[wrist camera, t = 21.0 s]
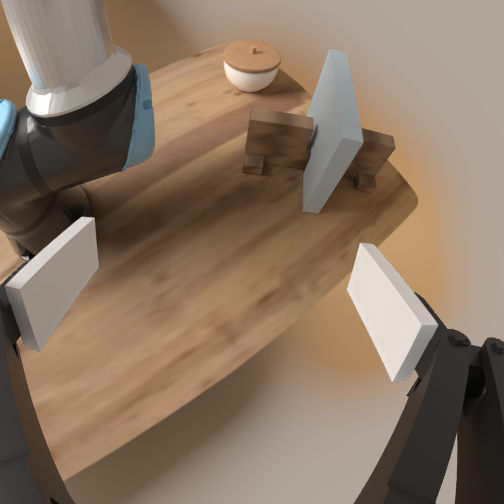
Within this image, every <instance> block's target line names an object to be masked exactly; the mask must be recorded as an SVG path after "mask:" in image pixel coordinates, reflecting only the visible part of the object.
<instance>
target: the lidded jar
mask: <svg viewBox="0 0 504 504" xmlns="http://www.w3.org/2000/svg"><path fill="white" fill-rule="evenodd" d="M223 57H224V70H225V74H226V76H227V78H228V80H229V81H230V82H231V83H232V84H233V85H234V86H235V87H236V88H238V89H239V90H241V91H245V92H256V91H259V90H261V89H263V88H265V87H267V86H268V85H269V84H270V83H271V82H272V81H273V80H274V78H275V76H276V74H277V72H278V69H279V65H280V62H281V54H280V52H279V51H278V50H277V49H276V48H275V47H273V46H272V45H270V44H268V43H265V42H262V41H257V40H241V41H237V42H234V43H231V44H230V45H228V46H227V47H226V48H225V50H224V55H223Z"/></svg>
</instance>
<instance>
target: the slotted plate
mask: <svg viewBox="0 0 504 504" xmlns="http://www.w3.org/2000/svg"><path fill="white" fill-rule="evenodd" d="M306 116H307V117H312V118H313V120H314V131H313V133H312V136H311V138H310V141H311V157H310V159H309V162H308V164H307V166H306V169H305V171H304V173H303V212H308V213H315V214H319V212H320V210H321V209H322V207H323V206H324V204H325V203H326V201H327V200H328V198H329V197H330V195H331V193H332V192H333V190H334V189H335V187H336V186H337V184H338V182H339V181H340V179H341V178H342V176H343V175H344V173H345V171H346V170H347V168H348V167H349V165H350V163H351V162H352V160H353V159H354V157H355V155H356V154H357V152H358V151H359V149H360V147H361V146H362V144H363V143H364V142H363V135H362V129H361V123H360V117H359V112H358V107H357V101H356V96H355V91H354V86H353V81H352V77H351V72H350V68H349V63H348V59H347V55H346V53H344V52H340V51H336V50H332V49H330V50H329V52H328V56H327V58H326V61H325V64H324V67H323V70H322V73H321V75H320V78H319V81H318V84H317V87H316V90H315V93H314V95H313V98H312V101H311V104H310V107H309V110H308V113H307V115H306Z"/></svg>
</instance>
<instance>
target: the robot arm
mask: <svg viewBox="0 0 504 504" xmlns="http://www.w3.org/2000/svg"><path fill="white" fill-rule="evenodd" d="M1 2H2V5H3V8H4V11H5V14H6V17H7V20H8V23H9V26H10V29H11V32H12V34H13V37H14V40H15V42H16V45H17V48H18V50H19V53H20V55H21V58H22V60H23V62H24V65H25V67H26V70H27V72H28V74H29V77H30V79H31V81H32V85H31V88H30V90H29V92H28V95H27V98H26V106H24V107H22V108H20V109H16V106H15V105H14V103H11V102H10V101H9V100H3V99H0V229H1V230H2V231H3V232H5V234H6V236H7V238H8V240H9V241H10V243H11V245H12V247H13V249H14V251H15V252H16V253H17V255H18V256H19V257H20V258H22V259H23V260H24V261H26V262H25V263H23V264H22V265H21V266H20V267H19V268H18V269H17V271H14V272H13V273H12V274H11V276H9V277H8V278H7V279H6V280H5V281H4V282H3V283H2V284H1V285H0V504H75V503H74V501H73V500H72V498H71V496H70V495H69V493H68V491H67V489H66V487H65V485H64V483H63V481H62V478H61V476H60V474H59V472H58V470H57V467H56V465H55V463H54V461H53V458H52V456H51V453H50V451H49V448H48V446H47V443H46V441H45V438H44V435H43V433H42V430H41V427H40V424H39V421H38V418H37V415H36V412H35V409H34V406H33V403H32V399H31V396H30V392H29V389H28V385H27V381H26V377H25V373H24V369H23V365H22V361H21V356H20V352H19V348H18V345H17V343H16V341H17V340H18V339H19V337H20V336H21V338H22V340H23V343H24V345H25V347H26V348H29V349H32V350H36V351H41V350H42V348H43V347H44V345H45V344H46V342H47V340H48V339H49V337H50V336H51V334H52V333H53V331H54V330H55V328H56V327H57V325H58V324H59V322H60V321H61V319H62V318H63V316H64V315H65V314H66V312H67V311H68V309H69V308H70V306H71V305H72V304H73V302H74V301H75V299H76V298H77V297H78V295H79V294H80V292H81V291H82V290H83V288H84V287H85V286H86V284H87V283H88V281H89V280H90V279H91V277H92V276H93V275H94V273H95V272H96V271H97V270H98V268H99V262H98V253H97V242H96V230H95V218H91V208H90V203H89V199H88V197H87V195H86V194H85V192H84V191H83V189H82V188H81V186H80V184H83V183H86V182H89V181H92V180H95V179H98V178H101V177H104V176H107V175H110V174H114V173H117V172H122V171H125V170H126V169H127V168H129V167H132V166H134V165H137V164H140V163H142V162H145V161H146V160H148V159H149V158H150V157H151V155H152V154H153V151H154V147H155V126H154V114H153V107H152V94H151V86H150V79H149V74H148V71H147V68H146V66H145V65H143V64H133V65H132V60H131V56H130V55H129V53H128V52H127V51H125V50H124V49H122V48H119V47H116V46H114V45H113V44H112V40H111V35H110V30H109V26H108V21H107V16H106V11H105V5H104V0H1ZM347 291H348V293H349V295H350V297H351V299H352V301H353V303H354V305H355V307H356V309H357V311H358V312H359V315H360V317H361V319H362V320H363V322H364V325H365V327H366V328H367V330H368V333H369V335H370V337H371V338H372V341H373V343H374V345H375V346H376V349H377V351H378V353H379V355H380V357H381V359H382V362H383V363H384V366H385V368H386V370H387V372H388V374H389V377H390V379H391V381H392V382H399V381H408V380H409V378H410V377H411V375H412V373H413V371H414V370H416V372H417V374H418V376H419V377H418V378H417V380H416V381H415V383H414V385H413V386H412V388H411V389H410V391H409V393H408V394H407V396H408V397H409V398H408V401H407V403H406V405H405V408H404V410H403V412H402V414H401V417H400V419H399V421H398V423H397V425H396V428H395V430H394V432H393V434H392V436H391V438H390V440H389V442H388V444H387V446H386V448H385V450H384V452H383V454H382V456H381V458H380V460H379V461H378V463H377V465H376V467H375V469H374V471H373V472H372V474H371V476H370V478H369V480H368V481H367V483H366V484H365V486H364V488H363V489H362V491H361V493H360V494H359V496H358V498H357V499H356V501H355V502H354V504H436V503H435V502H436V498H437V496H438V493H439V490H440V488H441V485H442V482H443V479H444V476H445V473H446V470H447V466H448V463H449V460H450V456H451V452H452V449H453V446H454V441H455V438H456V434H457V442H458V443H457V444H458V452H457V482H456V497H455V504H504V342H503V341H501V340H500V339H496V338H491V337H490V338H487V339H486V340H485V342H484V344H483V346H482V347H479V346H474V345H471V342H470V340H469V339H468V338H467V337H466V336H465V335H464V334H463V333H461V332H459V331H457V330H454V329H447V328H446V326H445V325H444V324H443V322H442V321H441V320H440V319H439V317H438V316H437V315H436V313H434V311H433V309H432V308H431V307H430V306H429V304H428V303H427V302H426V301H425V299H424V298H422V297H421V296H420V295H418V294H417V293H415V292H413V291H412V290H411V288H410V287H409V286H408V285H407V283H406V282H405V281H404V280H403V279H402V278H401V276H400V275H399V274H398V272H397V271H396V270H395V269H394V268H393V266H392V265H391V264H390V263H389V262H388V260H387V259H386V258H385V257H384V256H383V255H382V253H381V252H380V251H379V250H378V249H377V248H376V246H375V245H374V244H368V243H360V245H359V249H358V253H357V256H356V260H355V264H354V267H353V271H352V274H351V278H350V281H349V284H348V288H347Z"/></svg>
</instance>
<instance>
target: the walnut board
mask: <svg viewBox="0 0 504 504" xmlns="http://www.w3.org/2000/svg"><path fill="white" fill-rule="evenodd" d="M361 129H362V128H361ZM313 131H314V120H313V118H312V117H307V116H301V115H295V114H289V113H283V112H277V111H270V110H263V109H255V108H251V113H250V120H249V127H248V133H247V140H246V148H245V156H244V164H243V173H251V174H259V175H261V174H262V169H263V163H264V164H271V165H278V166H285V167H292V168H298V169H306V166H307V164H308V162H309V159H310V157H311V141H310V138H311V136H312V133H313ZM362 135H363V142H364V143H363V144H362V146H361V147H360V149H359V151H358V152H357V154H356V155H355V157H354V159H353V160H352V162H351V163H350V165H349V167H348V168H347V170H346V171H345V173H344V175H343V176H345V177H350V178H354V179H355V190H360V191H365V192H370V193H371V192H372V191H373V190H374V189H375V188H376V182H375V174H376V173H377V172H378V171H379V169H380V168H381V167H382V165H383V164H384V163H385V161H386V160H387V159H388V157H389V156H390V155H391V154H392V152H393V151H394V149H395V144H394V139H393V137H392V136H389V135H385V134H382V133H378V132H374V131H371V130H366V129H362Z"/></svg>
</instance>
